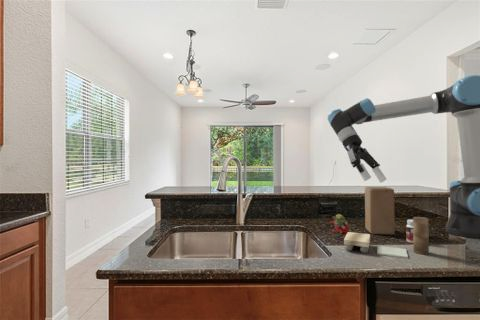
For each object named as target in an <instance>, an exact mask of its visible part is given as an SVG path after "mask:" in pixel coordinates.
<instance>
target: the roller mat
mask: <svg viewBox="0 0 480 320" xmlns="http://www.w3.org/2000/svg"><path fill="white" fill-rule="evenodd" d="M376 250H377V251H376V255H380V256H381V255H382V256H389V257H394V258H395V257H396V258H404V259H409V256H408V252H407V248H401V247H394V246H393V247H392V246H384V245H377V249H376Z"/></svg>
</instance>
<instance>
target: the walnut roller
mask: <svg viewBox="0 0 480 320" xmlns="http://www.w3.org/2000/svg"><path fill="white" fill-rule="evenodd" d="M412 220H413V243H412V244H413V253H414V254H417V255H422V256H424V255H425V256H428V255H429V254H430V252H429V251H430V250H429V249H430V247H429V246H430V245H429V243H430V241H429V240H430V239H429V218H428V217H425V216H424V217H423V216H422V217H421V216H413V217H412Z"/></svg>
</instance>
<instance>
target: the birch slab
mask: <svg viewBox="0 0 480 320" xmlns="http://www.w3.org/2000/svg"><path fill="white" fill-rule="evenodd" d="M345 234H346V235H344V239H343V245H344V246H345V247H344V249H345V251H347V252H351V251H352V250H353V248H354V246H355V247H360V249H359V250H360V252H361V253H363V254H367V253H368V251H369V247H370V242H371V233H370V234H369V233H361V232H360V233H359V232H353V231H352V232H351V231H348V232H347V233H345Z"/></svg>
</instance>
